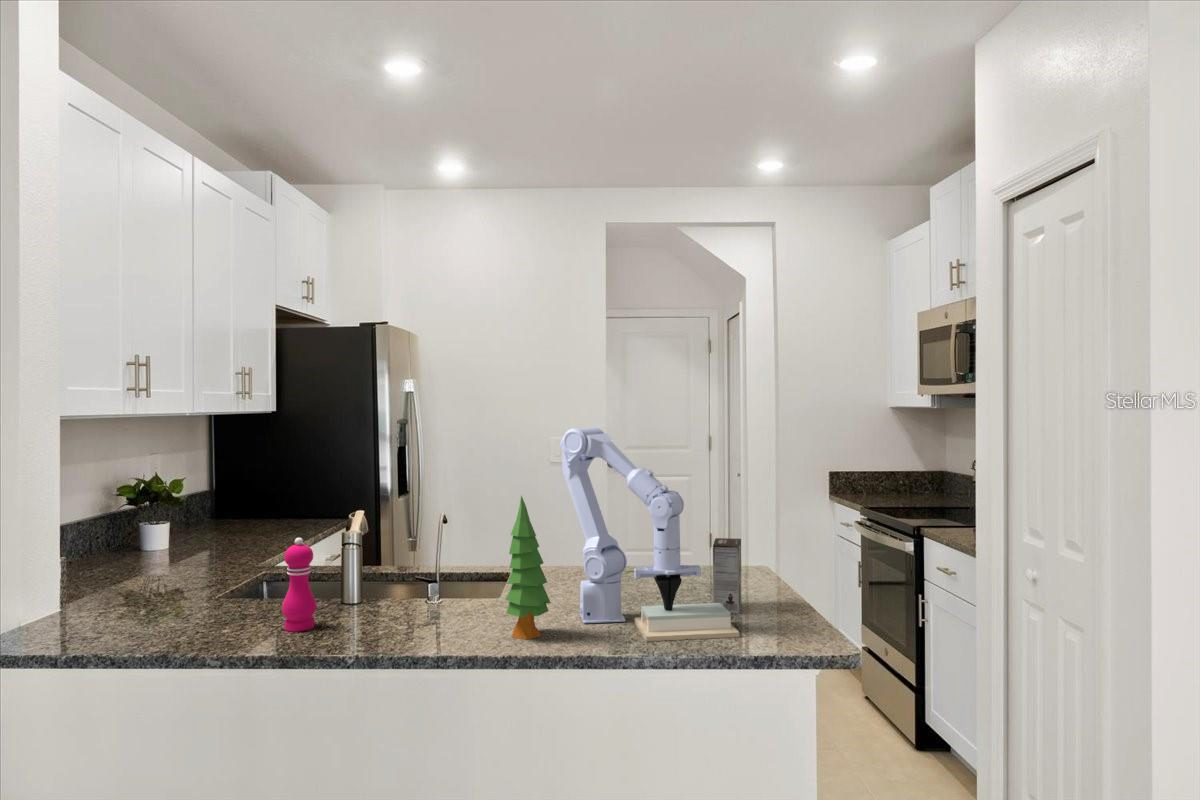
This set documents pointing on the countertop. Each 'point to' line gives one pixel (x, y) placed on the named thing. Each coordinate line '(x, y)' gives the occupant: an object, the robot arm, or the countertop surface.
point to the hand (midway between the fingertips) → (668, 609)
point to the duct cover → (686, 611)
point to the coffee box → (727, 573)
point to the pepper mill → (299, 589)
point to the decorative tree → (526, 578)
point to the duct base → (685, 628)
